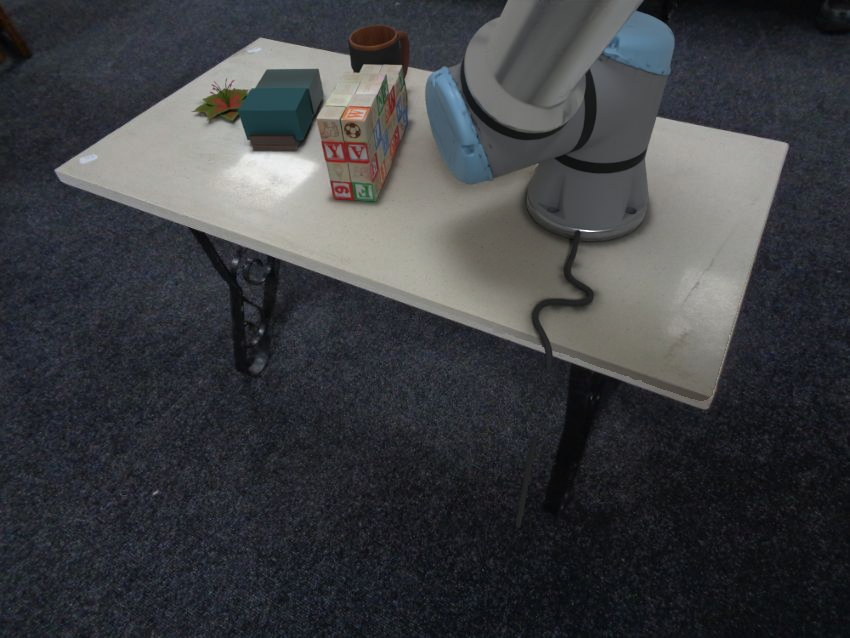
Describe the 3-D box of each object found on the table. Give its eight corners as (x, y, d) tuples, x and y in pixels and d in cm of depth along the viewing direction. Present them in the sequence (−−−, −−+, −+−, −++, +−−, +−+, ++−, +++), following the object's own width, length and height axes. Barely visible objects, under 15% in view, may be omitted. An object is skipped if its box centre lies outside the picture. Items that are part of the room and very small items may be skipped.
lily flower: (224, 86, 102) (215, 61, 98) (277, 97, 98) (270, 71, 95) (179, 118, 95) (168, 92, 92) (235, 131, 91) (226, 104, 88)
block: (303, 140, 86) (295, 110, 82) (247, 140, 87) (237, 110, 83) (313, 117, 91) (306, 87, 87) (260, 117, 92) (251, 88, 88)
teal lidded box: (302, 151, 86) (294, 117, 82) (247, 150, 87) (236, 118, 83) (326, 97, 97) (320, 65, 93) (276, 97, 98) (268, 66, 94)
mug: (430, 93, 95) (426, 22, 86) (384, 126, 89) (375, 54, 80) (392, 80, 99) (385, 10, 90) (346, 111, 93) (333, 40, 84)
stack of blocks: (371, 120, 91) (360, 42, 82) (408, 122, 90) (402, 43, 81) (333, 199, 77) (315, 116, 68) (376, 202, 76) (364, 119, 67)
